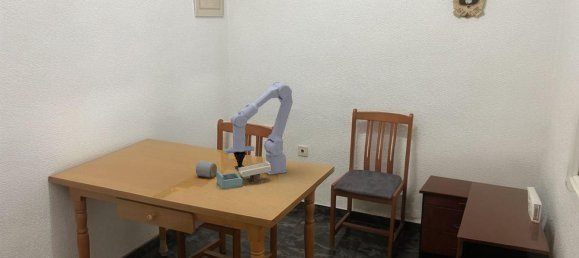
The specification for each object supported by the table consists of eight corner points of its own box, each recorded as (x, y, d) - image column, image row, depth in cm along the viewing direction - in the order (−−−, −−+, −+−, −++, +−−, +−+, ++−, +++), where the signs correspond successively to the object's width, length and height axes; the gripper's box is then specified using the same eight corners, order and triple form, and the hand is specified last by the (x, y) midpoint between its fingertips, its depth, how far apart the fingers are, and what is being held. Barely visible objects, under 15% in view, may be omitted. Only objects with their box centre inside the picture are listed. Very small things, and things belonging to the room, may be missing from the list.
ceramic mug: (210, 179, 235) (210, 164, 233) (195, 177, 237) (195, 162, 235) (221, 173, 244) (220, 158, 243) (206, 171, 247) (205, 156, 245)
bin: (236, 180, 234) (236, 168, 232) (242, 186, 226) (242, 173, 225) (216, 183, 230) (216, 171, 229) (222, 189, 222) (221, 176, 221)
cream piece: (260, 162, 244) (260, 155, 243) (271, 171, 232) (270, 163, 231) (233, 168, 239) (233, 161, 238) (242, 177, 227) (242, 169, 226)
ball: (228, 172, 229) (222, 178, 228) (231, 175, 225) (225, 181, 225) (234, 178, 231) (227, 184, 230) (236, 180, 227) (230, 187, 226)
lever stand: (258, 177, 238) (257, 169, 237) (264, 182, 231) (263, 174, 230) (246, 179, 235) (246, 171, 234) (251, 184, 228) (251, 176, 227)
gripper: (226, 142, 228) (227, 171, 231) (256, 139, 233) (256, 167, 237) (222, 139, 234) (223, 166, 237) (251, 136, 240) (251, 162, 243)
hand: (239, 166), depth 237 cm, fingers closed, pressing on cream piece
